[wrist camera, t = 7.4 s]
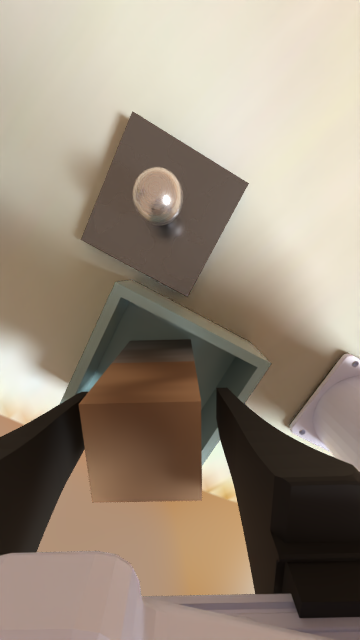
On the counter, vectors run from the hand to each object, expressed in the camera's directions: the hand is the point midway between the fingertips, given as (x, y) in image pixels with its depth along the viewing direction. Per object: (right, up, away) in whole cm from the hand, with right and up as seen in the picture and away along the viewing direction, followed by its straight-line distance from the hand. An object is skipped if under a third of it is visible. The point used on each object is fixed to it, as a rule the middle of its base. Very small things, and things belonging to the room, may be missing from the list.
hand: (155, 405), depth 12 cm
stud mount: (0, +12, +2) cm, 12 cm away
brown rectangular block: (0, +1, +4) cm, 4 cm away
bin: (0, +1, +5) cm, 5 cm away
